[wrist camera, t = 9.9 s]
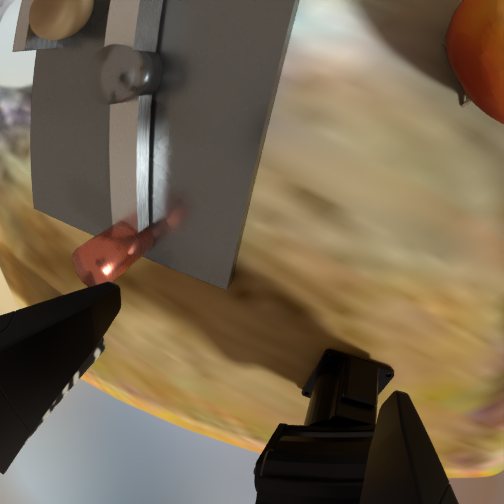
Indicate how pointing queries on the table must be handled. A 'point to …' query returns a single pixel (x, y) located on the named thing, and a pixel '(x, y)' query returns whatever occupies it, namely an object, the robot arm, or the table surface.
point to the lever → (124, 136)
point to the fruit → (479, 53)
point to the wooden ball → (59, 17)
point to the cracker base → (165, 126)
